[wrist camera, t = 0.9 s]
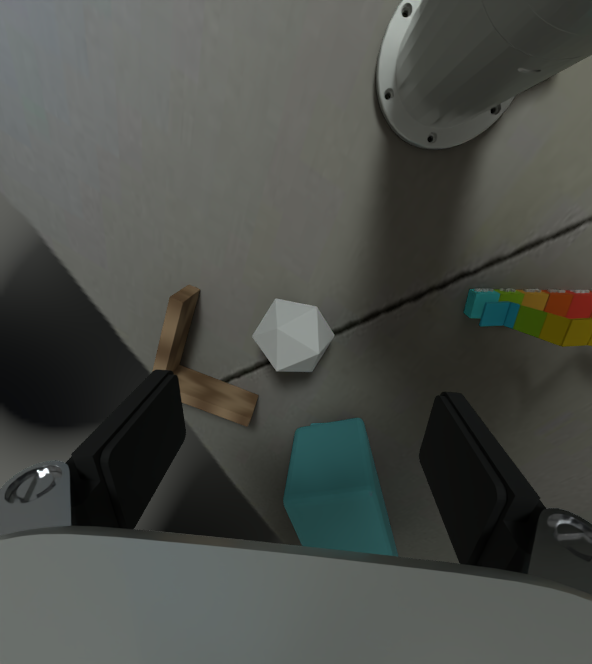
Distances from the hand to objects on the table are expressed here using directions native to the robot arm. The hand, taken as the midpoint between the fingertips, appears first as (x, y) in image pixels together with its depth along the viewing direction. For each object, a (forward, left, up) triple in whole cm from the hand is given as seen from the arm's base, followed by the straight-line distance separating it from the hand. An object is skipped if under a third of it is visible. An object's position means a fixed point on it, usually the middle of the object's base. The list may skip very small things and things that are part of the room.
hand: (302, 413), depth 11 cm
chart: (-29, +16, -26) cm, 42 cm away
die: (+5, +6, -26) cm, 27 cm away
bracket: (+20, +6, -26) cm, 33 cm away
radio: (+8, +36, -26) cm, 45 cm away
